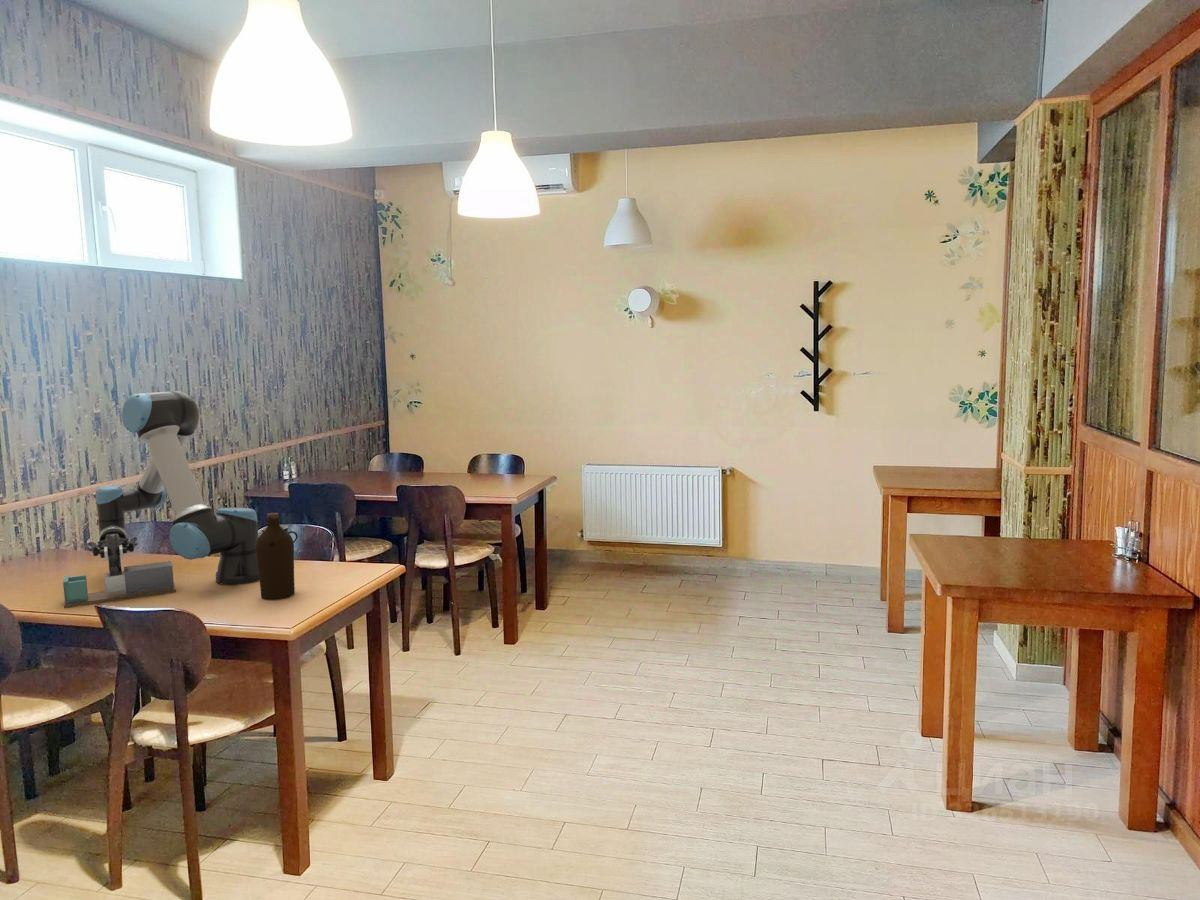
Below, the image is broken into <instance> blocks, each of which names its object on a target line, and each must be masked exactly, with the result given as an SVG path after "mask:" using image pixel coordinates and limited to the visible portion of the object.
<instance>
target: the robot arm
mask: <svg viewBox="0 0 1200 900" xmlns="http://www.w3.org/2000/svg"><path fill="white" fill-rule="evenodd" d="M199 418H200V411H199V408H198V404H197V403H196V401H195V400H194V399H193V398H192V397H191V396H190V395H189V394H187V393H185V392H182V391H178V390H171V391H170V390H169V391H157V392H141V393H134V394H131V395H130V396H128V397H127V398H126V399H125V402H124V403H123V406H122V410H121V419H122V423H123V426H124V428H125V429H126V430H127V431H129V432H130V433H133V434H134V433H135V434H136V435H137V436H138V440H139V441H140V442H142V443H144V444H147V447H148V450H149V452H150V455H151V456H150V459H149V461H148V462H147V464H146V467H145V470H144V471H143V474H142V476H141V478H140V480H139V482H138V484H137V487H134V488H127V489H123V488H122V486H121V485H109V486H108V485H107V486H106V485H105V486H100V487H98V488H97V489H96V492H95V503H96V509H97V516H98V517H97V518H98V519H97V520H98V521H97V522H98V523H97V524H98V533H99V535H98V537H99V539H98V541H97V542H96V541H95V542H93V541H89V542H88V543H87V544H88V551H89V552H91V553H92V555H93V556H94V557H97V556H99V555H100V559H104V561H108V551H107V541H106V535H108V534H118V536H119V548H120V558H121V559H124V554H128V552H129V553H133V552H134V551H135V549H136V547H137V546H138V545H139V544H138V537H136V536H134V537H132V538H127V529H126V521H125V519H126V517H125V514H126V513H130V512H131V513H132V512H136V511H141V510H146V509H147V510H148V509H154V508H156V507H159V506H162V505H164V504H165V502H166V500H167V497H168V500H169V502H170V504H171V507H172V510H173V512H174V517H173V519H172V522H171V523H172V524H173V526H172V527H171V528H170V530H169V542H170V544H171V547H172V549H173V550H174V551H175V552H176V554H177V555H179V557H181V558H184V559H186V560H196V559H197V560H198V559H204V558H206V557H208V556H212V555H215V554H219V561H218V566H217V571H216V572H215V582H216V583H217V584H221V585H225V586H226V585H228V586H229V585H233V586H234V585H244V584H249V583H255V582H258V581H259V582H260V579H259V571H258V563H257V555H256V542H257V539H258V537H259V526H258V524H259V523H258V522H259V520H258V516H257V512H256V510H255V509H253V508H247V507H221V508H217V509H216V515H215V513H214V510H213V508H212V507H211V506H209V505H207V504H205V502H204V500H203V497H202V494H201V493H200V490H199V488H198V484H197V482H196V479H195V477H194V474H193V472H192V470H191V466H190V465H189V463H188V460H187V458H186V455H185V452H184V450H183V449H184V446H185V444H186V442H187V440H188V438H189V437H191V436H193V435H194V433H195V431H196V429H197V427H198V426H199ZM166 496H167V497H166Z"/></svg>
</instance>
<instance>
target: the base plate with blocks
mask: <svg viewBox="0 0 1200 900" xmlns="http://www.w3.org/2000/svg"><path fill="white" fill-rule="evenodd" d="M123 571H124V574H125V585H126V590H124V591H117V592H110V593H106V590H102V591H101V590H100V591H94V592H88V598H87V601H80V602H73V603H66V604H65V599H64V603H63V609H68V608H75V607H82V606H89V605H95V604H96V605H97V604H102V603H103V604H104V603H109V602H110V603H111V602H117V601H123V600H130V599H137V598H143V597H144V598H146V597H151V596H158V595H165V594H171V593H176V592H177V588H176V586H175V584H176V583H174V571H173V563H172V561H171V560H168V561H159V562H152V563H151V562H150V563H143V564H136V565H128V566H123Z"/></svg>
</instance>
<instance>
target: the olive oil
mask: <svg viewBox="0 0 1200 900" xmlns="http://www.w3.org/2000/svg"><path fill="white" fill-rule="evenodd" d="M266 516H267V518H266V524H267V526H266V527H267V528H266V529H265V530H264V531H263V533H262V532H261V533H260V535H258V539H257V542H256V555H257V563H258V571H259V579H260V580H259V587H260V596H261V598H262V599H263V600H266V601H267V600H268V601H277V600H283V599H287V598H291V597H292V596H294V595H295V594H296V592H295V542H293V541H294V540H293V538H292V537H293V536H292V535H291V533H288V532H289V531H287V532H286V531H285V530H284V529H283V528H282V527H281V526H282V525H280V517H279V513H278V512H270V513H266ZM290 596H291V597H290Z"/></svg>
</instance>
